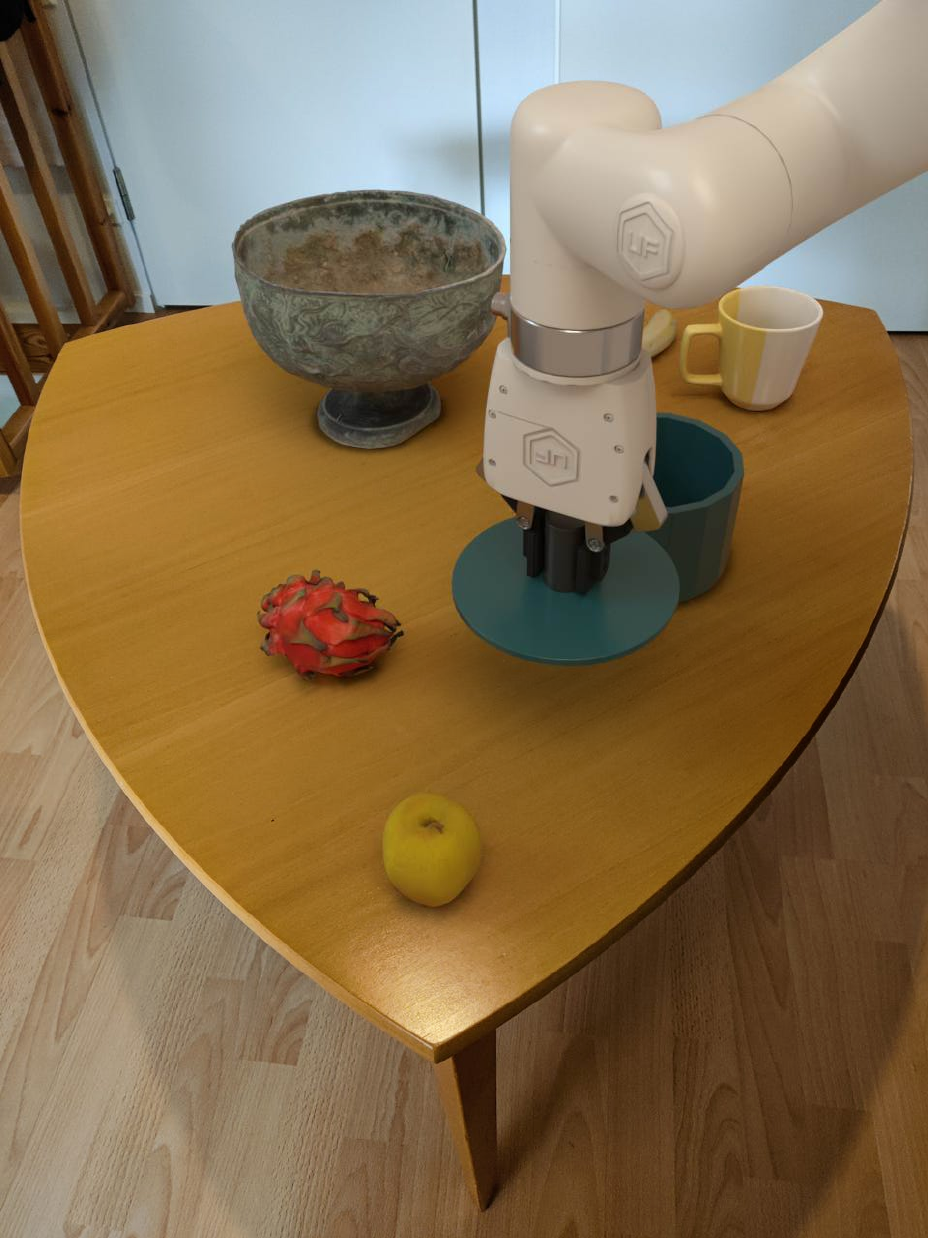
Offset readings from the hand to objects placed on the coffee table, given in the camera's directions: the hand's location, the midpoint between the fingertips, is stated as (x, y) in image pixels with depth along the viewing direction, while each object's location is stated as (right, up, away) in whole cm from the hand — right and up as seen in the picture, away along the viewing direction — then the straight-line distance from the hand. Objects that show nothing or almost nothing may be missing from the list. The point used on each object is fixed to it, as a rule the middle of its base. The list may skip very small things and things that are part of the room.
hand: (565, 572), depth 69 cm
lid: (0, -1, +1) cm, 1 cm away
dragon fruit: (-17, -7, +12) cm, 23 cm away
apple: (-9, -21, -3) cm, 23 cm away
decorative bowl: (-16, +19, +39) cm, 47 cm away
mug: (+23, +21, +39) cm, 50 cm away
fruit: (+12, +28, +47) cm, 56 cm away
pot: (+9, +3, +21) cm, 23 cm away
